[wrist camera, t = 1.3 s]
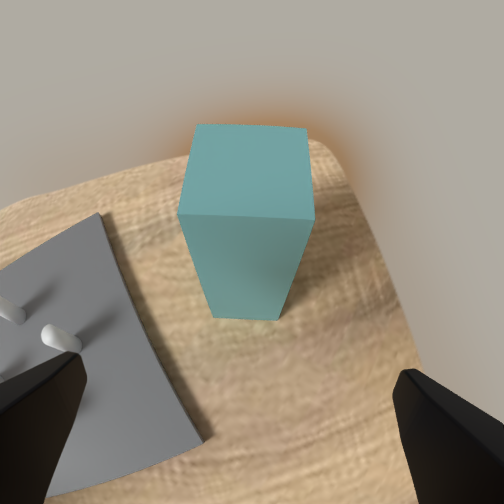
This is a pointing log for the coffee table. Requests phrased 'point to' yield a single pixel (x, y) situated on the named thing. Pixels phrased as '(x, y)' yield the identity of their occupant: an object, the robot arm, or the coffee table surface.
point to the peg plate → (92, 357)
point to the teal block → (247, 215)
